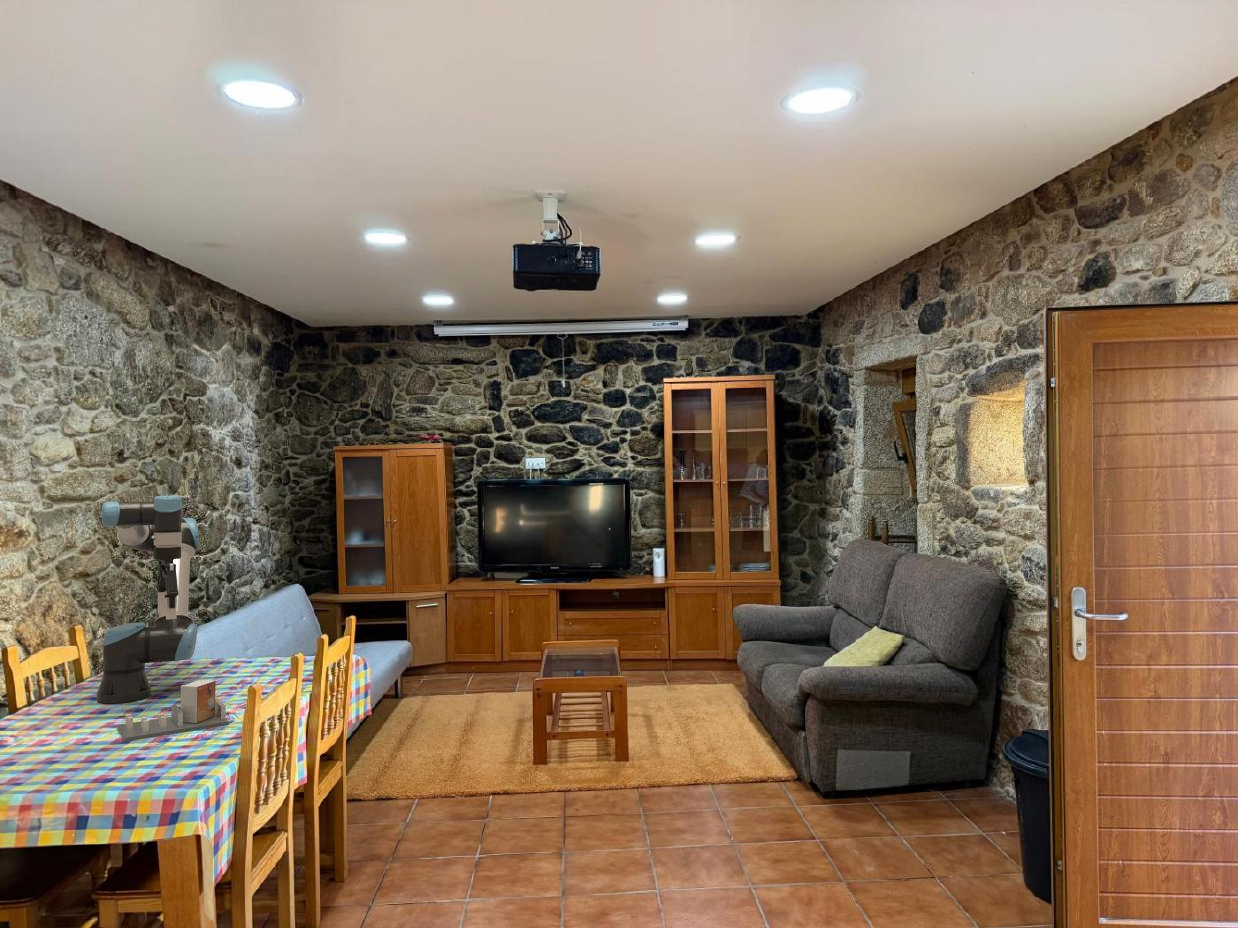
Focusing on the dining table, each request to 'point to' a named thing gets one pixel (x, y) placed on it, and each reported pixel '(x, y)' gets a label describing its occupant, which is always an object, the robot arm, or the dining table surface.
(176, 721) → the end holder
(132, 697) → the robot arm
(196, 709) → the small box
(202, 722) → the board
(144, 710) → the dining table surface
